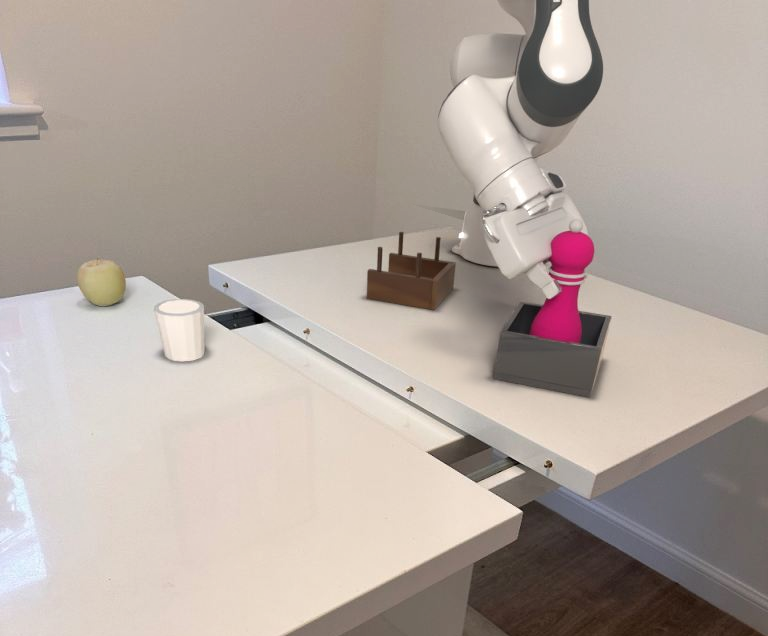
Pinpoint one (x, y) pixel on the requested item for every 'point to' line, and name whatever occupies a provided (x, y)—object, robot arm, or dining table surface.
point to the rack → (411, 279)
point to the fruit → (101, 282)
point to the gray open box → (550, 353)
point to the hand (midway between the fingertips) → (569, 288)
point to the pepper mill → (565, 285)
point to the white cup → (181, 328)
